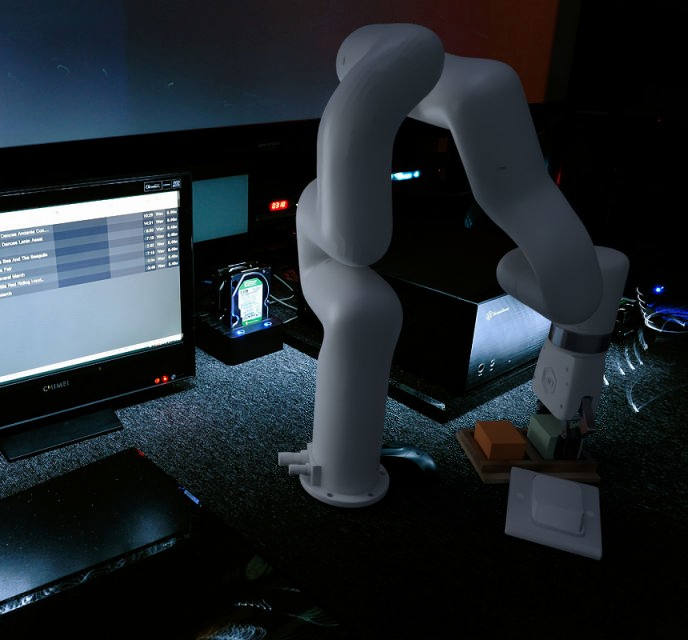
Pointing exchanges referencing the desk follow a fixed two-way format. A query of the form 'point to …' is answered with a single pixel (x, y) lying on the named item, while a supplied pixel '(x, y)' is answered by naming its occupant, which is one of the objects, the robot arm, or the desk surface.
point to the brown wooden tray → (527, 462)
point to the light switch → (554, 512)
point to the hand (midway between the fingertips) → (553, 444)
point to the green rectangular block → (546, 434)
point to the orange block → (499, 440)
